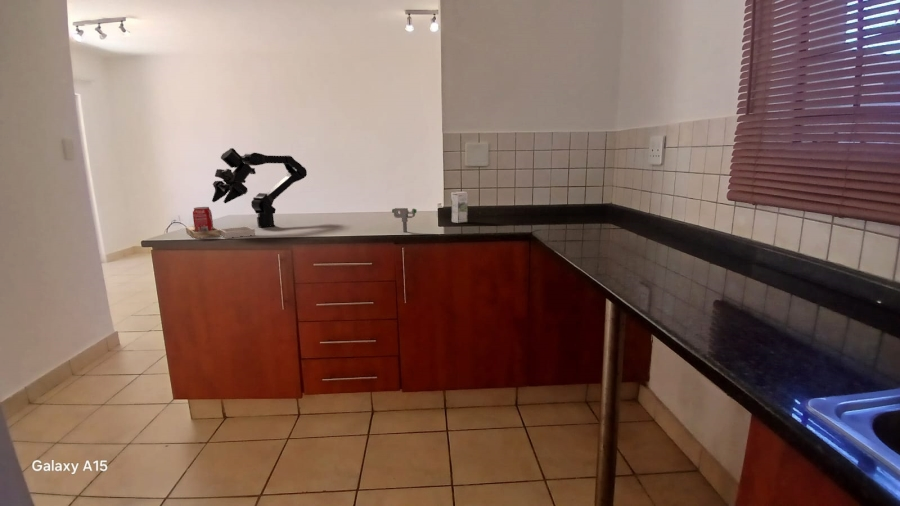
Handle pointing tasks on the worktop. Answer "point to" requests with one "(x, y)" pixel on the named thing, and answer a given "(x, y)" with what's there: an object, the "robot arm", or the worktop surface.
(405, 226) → the mechanical component
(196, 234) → the light wood shallow tray
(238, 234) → the frame
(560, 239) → the worktop surface
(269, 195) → the robot arm
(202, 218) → the soda can
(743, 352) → the worktop surface
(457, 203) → the syrup box
